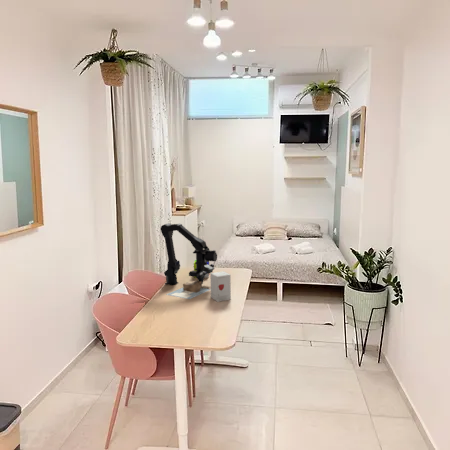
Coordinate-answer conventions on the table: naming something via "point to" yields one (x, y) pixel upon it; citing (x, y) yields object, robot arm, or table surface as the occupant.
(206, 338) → the table surface
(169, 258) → the robot arm
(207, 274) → the puzzle toy
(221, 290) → the supplement box
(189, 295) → the mat
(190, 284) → the tee
